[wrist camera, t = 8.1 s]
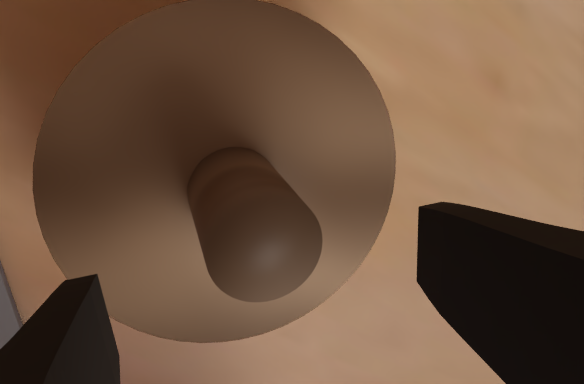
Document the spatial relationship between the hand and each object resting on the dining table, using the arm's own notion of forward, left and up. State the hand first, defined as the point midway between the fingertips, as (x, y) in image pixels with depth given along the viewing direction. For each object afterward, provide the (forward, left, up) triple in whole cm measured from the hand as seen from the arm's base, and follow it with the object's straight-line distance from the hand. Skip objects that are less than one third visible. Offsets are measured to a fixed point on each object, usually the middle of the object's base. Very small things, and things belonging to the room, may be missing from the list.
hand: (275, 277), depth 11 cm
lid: (0, 0, -6) cm, 6 cm away
